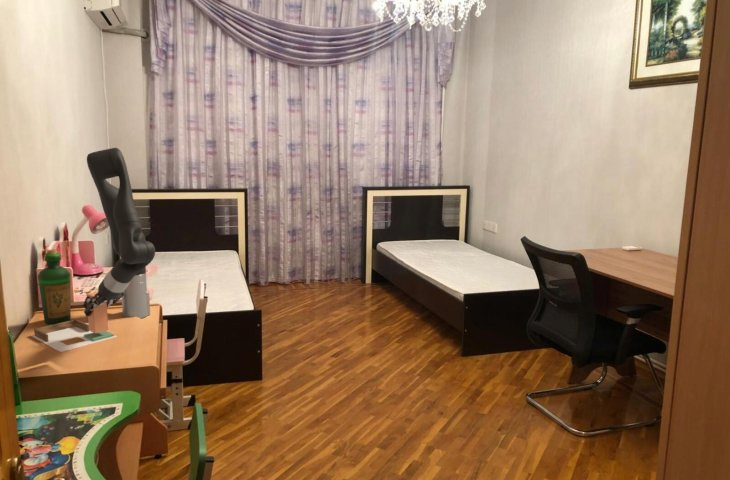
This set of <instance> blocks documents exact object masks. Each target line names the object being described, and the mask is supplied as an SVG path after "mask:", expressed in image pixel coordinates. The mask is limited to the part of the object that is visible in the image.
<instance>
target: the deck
mask: <svg viewBox="0 0 730 480" xmlns="http://www.w3.org/2000/svg"><path fill="white" fill-rule="evenodd" d="M84 323H85V324H88V322H84ZM88 325H89V324H88ZM89 333H93V332H91V331H89V332H87V331H84V330H82V329H80V328H78V327H76V326H75V327H71V328H67V329H63V330H59V331H54V332H50V333H46V334H48V341H49V342H46V341H44V340H42V339H40V338H38V337H36V336H35V334H34V335H31V337H32V338H33V339H36V340H37V341H40V342H41V343H44V344H46V345H47V346H49V347H50V348H52V349H54V350H56V351H58V352H60V353H62V352H66V351H70V350H73V349H77V348H81V347H85V346H88V345H93V344H97V343H99V342H104V341H107V340H110V339H111V340H112V339H115V338H118V336H117V335H116V334H114V336H112V337H108V338H105V339H101V340H97V341H92V340H90V339H88V338H86V337H84V335H85V334H89ZM75 338H80V339H82V340H83V341H79V342H76V343H72V344H66V343H64V342H62V341H66V340H70V339H75Z"/></svg>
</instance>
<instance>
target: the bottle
mask: <svg viewBox="0 0 730 480" xmlns="http://www.w3.org/2000/svg"><path fill="white" fill-rule="evenodd" d="M46 251H47V253H45V254H44V261H45V262H46V267H45V268H43V269H42V270H40V271H39V273H38V275H37V279H38V280H37V281H38V287H39V293H40V294H39V295H40V300H41V305H42V306H41V307H42V314H43V315H42V316H43V321H44V324H45V325H48V326H49V325H54V324H58V323H62V322H67V321H71V318H72V316H71V315H72V313H71V312H72V311H71V305H72V304H71V273H70V272H69V270H68V269H67V268H65V267H63V266H61V264H60V263H61V260H62V256H61V253H60V252H58V249H53V248H52V249H48V250H46Z"/></svg>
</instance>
